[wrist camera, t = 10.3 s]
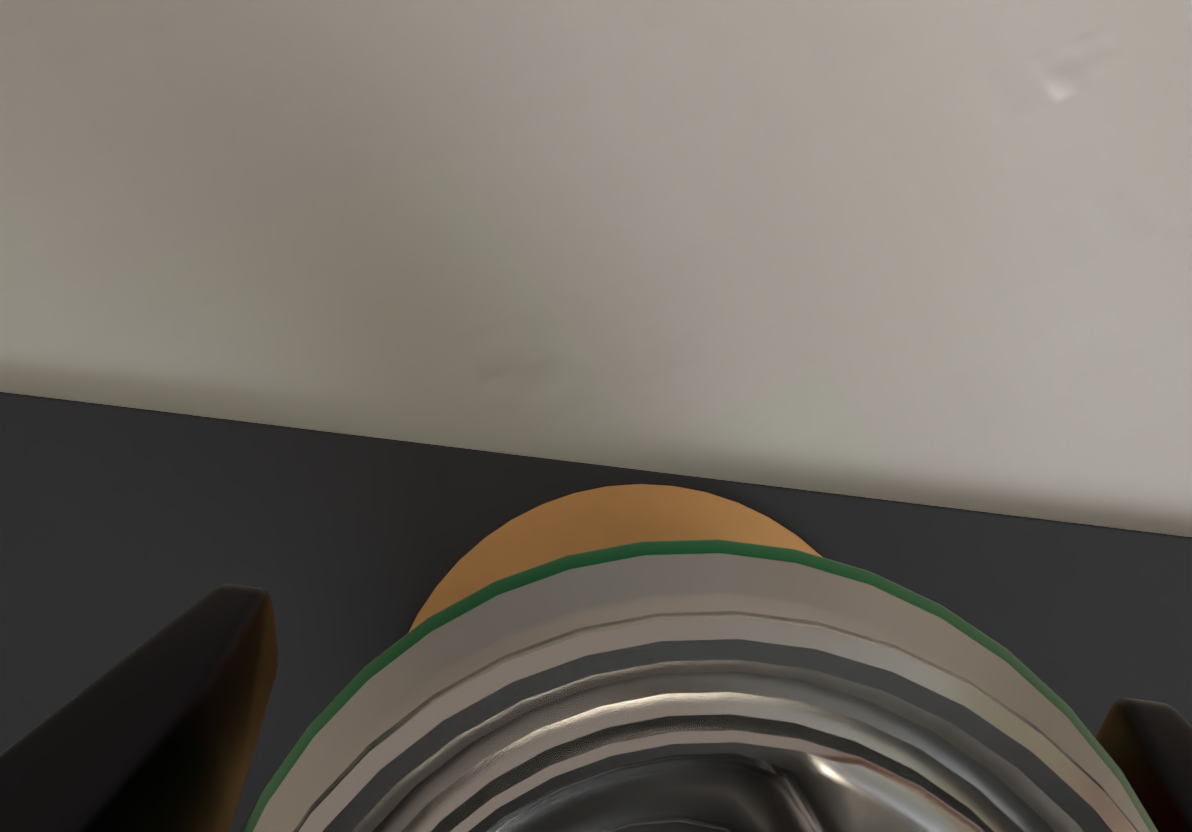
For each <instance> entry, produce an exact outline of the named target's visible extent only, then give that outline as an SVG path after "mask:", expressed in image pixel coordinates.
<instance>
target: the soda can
mask: <svg viewBox="0 0 1192 832" xmlns="http://www.w3.org/2000/svg"><path fill="white" fill-rule="evenodd" d="M242 832H1158V830H1157V828H1156V827H1155V825H1154V823H1153V822H1152V820H1151V818H1150V817H1149V815H1148V813H1147V812H1146V810H1145V808H1144V807H1143V805H1142V803H1141V802H1140V800H1139V798H1138V797H1137V795H1136V793H1135V792H1134V790H1133V788H1132V787H1131V785H1130V783H1129V782H1128V780H1127V778H1126V777H1125V775H1124V773H1123V772H1122V770H1121V769H1120V767H1119V766H1118V765H1117V764H1116V763H1115V761H1114V760H1113V759H1112V758H1111V756H1110V755H1109V754H1108V753H1107V752H1106V750H1105V749H1104V748H1103V747H1102V745H1101V744H1100V743H1099V742H1098V741H1097V739H1096V738H1095V737H1094V736H1093V734H1092V733H1091V732H1090V731H1089V729H1088V728H1087V727H1086V726H1085V725H1084V723H1083V722H1082V721H1081V720H1080V718H1079V717H1078V716H1077V715H1076V714H1075V712H1074V711H1073V710H1072V709H1071V707H1070V706H1069V705H1068V704H1067V703H1066V702H1065V701H1064V700H1063V699H1061V698H1060V697H1059V696H1058V695H1057V694H1056V693H1055V692H1054V691H1053V690H1052V689H1051V688H1049V687H1048V686H1047V685H1046V684H1045V683H1044V682H1043V681H1042V680H1041V679H1040V678H1038V677H1037V676H1036V675H1035V674H1034V673H1033V672H1032V671H1031V670H1030V669H1029V668H1027V667H1026V666H1025V665H1024V664H1023V663H1022V662H1021V661H1020V660H1019V659H1018V658H1016V657H1015V656H1014V655H1013V654H1012V653H1011V652H1010V651H1009V650H1008V649H1006V648H1005V647H1003V646H1002V645H1000V644H999V643H997V642H996V641H994V640H993V639H991V638H990V637H988V636H987V635H985V634H984V633H982V632H981V631H979V630H978V629H976V628H975V627H973V626H972V625H970V624H969V623H967V622H966V621H964V620H963V619H961V618H960V617H958V616H957V615H956V614H954V613H953V612H951V611H950V610H948V609H947V608H945V607H944V606H942V605H940V604H938V603H936V602H934V601H932V600H930V599H928V598H926V597H923V596H921V595H919V594H917V593H915V592H913V591H911V590H908V589H906V588H904V587H902V586H900V585H898V584H896V583H894V582H891V581H889V580H887V579H885V578H883V577H881V576H879V575H876V574H874V573H872V572H870V571H867V570H864V569H860V568H857V567H854V566H850V565H847V564H843V563H840V562H837V561H833V560H830V559H826V558H823V557H820V556H816V555H813V554H809V553H806V552H803V551H799V550H796V549H790V548H782V547H774V546H767V545H759V544H751V543H744V542H736V541H728V540H720V539H708V540H672V541H641V542H636V543H631V544H625V545H620V546H615V547H609V548H604V549H599V550H593V551H588V552H583V553H577V554H572V555H567V556H564V557H561V558H559V559H556V560H553V561H550V562H547V563H545V564H542V565H539V566H536V567H533V568H531V569H528V570H525V571H522V572H519V573H517V574H514V575H511V576H508V577H505V578H503V579H500V580H497V581H494V582H493V583H491V584H489V585H487V586H485V587H484V588H482V589H480V590H478V591H476V592H474V593H473V594H471V595H469V596H467V597H465V598H463V599H462V600H460V601H458V602H456V603H454V604H452V605H451V606H449V607H447V608H445V609H443V610H441V611H440V612H438V613H436V614H434V615H432V616H430V617H429V618H427V619H426V620H424V621H423V622H422V623H420V624H419V625H418V626H416V627H415V628H414V629H413V630H411V631H410V632H409V633H407V634H406V635H405V636H403V637H402V638H401V639H400V640H398V641H397V642H396V643H394V644H393V645H392V646H390V647H389V648H388V649H386V650H385V651H384V652H383V653H381V654H380V655H379V656H377V657H376V658H375V659H373V660H372V661H371V662H370V663H368V664H367V665H366V666H364V667H363V668H362V670H361V671H360V672H359V673H358V674H357V675H356V676H355V677H354V678H353V679H352V680H351V681H350V682H349V683H348V684H347V685H346V686H345V687H344V688H343V689H342V690H341V691H340V693H339V694H338V695H337V696H336V697H335V698H334V699H333V700H332V701H331V702H330V703H329V704H328V705H327V706H326V707H325V708H324V709H323V710H322V711H321V712H320V713H319V714H318V716H317V717H316V718H315V719H314V720H313V721H312V722H311V723H310V724H309V725H308V726H307V728H306V729H305V731H304V732H303V734H302V735H301V736H300V738H299V739H298V741H297V742H296V743H295V745H294V746H293V748H292V749H291V751H290V752H289V753H288V755H287V756H286V758H285V759H284V761H283V762H282V763H281V765H280V766H279V768H278V769H277V770H276V772H275V773H274V775H273V776H272V778H271V779H270V780H269V782H268V783H267V785H266V786H265V787H264V789H263V790H262V792H261V794H260V796H259V798H258V800H257V802H256V804H255V806H254V808H253V810H252V812H251V814H250V816H249V818H248V820H247V822H246V824H245V826H244V828H243V830H242Z"/></svg>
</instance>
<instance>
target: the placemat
mask: <svg viewBox="0 0 1192 832" xmlns="http://www.w3.org/2000/svg"><path fill="white" fill-rule="evenodd" d="M708 539H720V540H728V541H736V542H744V543H751V544H759V545H767V546H774V547H782V548H790V549H796V550H799V551H803V552H806V553H809V554H813V555H816V556H820V557H823V558H826V559H830V560H833V561H837V562H840V563H843V564H847V565H850V566H854V567H857V568H860V569H864V570H867V571H870V572H872V573H874V574H876V575H879V576H881V577H883V578H885V579H887V580H889V581H891V582H894V583H896V584H898V585H900V586H902V587H904V588H906V589H908V590H911V591H913V592H915V593H917V594H919V595H921V596H923V597H926V598H928V599H930V600H932V601H934V602H936V603H938V604H940V605H942V606H944V607H945V608H947V609H948V610H950V611H951V612H953V613H954V614H956V615H957V616H958V617H960V618H961V619H963V620H964V621H966V622H967V623H969V624H970V625H972V626H973V627H975V628H976V629H978V630H979V631H981V632H982V633H984V634H985V635H987V636H988V637H990V638H991V639H993V640H994V641H996V642H997V643H999V644H1000V645H1002V646H1003V647H1005V648H1006V649H1008V650H1009V651H1010V652H1011V653H1012V654H1013V655H1014V656H1015V657H1016V658H1018V659H1019V660H1020V661H1021V662H1022V663H1023V664H1024V665H1025V666H1026V667H1027V668H1029V669H1030V670H1031V671H1032V672H1033V673H1034V674H1035V675H1036V676H1037V677H1038V678H1040V679H1041V680H1042V681H1043V682H1044V683H1045V684H1046V685H1047V686H1048V687H1049V688H1051V689H1052V690H1053V691H1054V692H1055V693H1056V694H1057V695H1058V696H1059V697H1060V698H1061V699H1063V700H1064V701H1065V702H1066V703H1067V704H1068V705H1069V706H1070V707H1071V709H1072V710H1073V711H1074V712H1075V714H1076V715H1077V716H1078V717H1079V718H1080V720H1081V721H1082V722H1083V723H1084V725H1085V726H1086V727H1087V728H1088V729H1089V731H1090V732H1091V733H1092V734H1093V736H1094V737H1096V735H1097V733H1098V731H1099V729H1100V727H1101V725H1102V723H1103V722H1104V720H1105V718H1106V716H1107V714H1108V712H1109V710H1110V708H1111V707H1112V705H1113V704H1114V703H1115V702H1116V701H1118V700H1119V699H1121V698H1133V699H1141V700H1149V701H1156V702H1163V703H1166V704H1168V705H1170V706H1171V707H1173V708H1174V709H1176V710H1177V711H1178V712H1179V713H1180V714H1181V715H1182V716H1183V717H1184V718H1185V719H1186V720H1187V721H1188V722H1189V723H1190V724H1191V725H1192V538H1191V537H1183V536H1175V535H1167V534H1159V533H1150V532H1142V531H1134V530H1126V529H1118V528H1109V527H1101V526H1093V525H1085V524H1077V523H1069V522H1060V521H1052V520H1044V519H1036V518H1028V517H1019V516H1011V515H1003V514H995V513H987V512H978V511H970V510H962V509H954V508H946V507H938V506H929V505H921V504H913V503H905V502H897V501H888V500H880V499H872V498H864V497H856V496H848V495H839V494H831V493H823V492H815V491H807V490H798V489H790V488H782V487H774V486H766V485H757V484H749V483H741V482H733V481H725V480H717V479H708V478H700V477H692V476H684V475H676V474H667V473H659V472H651V471H643V470H635V469H627V468H618V467H610V466H602V465H594V464H586V463H577V462H569V461H561V460H553V459H545V458H536V457H528V456H520V455H512V454H504V453H496V452H487V451H479V450H471V449H463V448H455V447H446V446H438V445H430V444H422V443H414V442H406V441H397V440H389V439H381V438H373V437H365V436H356V435H348V434H340V433H332V432H324V431H315V430H307V429H299V428H291V427H283V426H275V425H266V424H258V423H250V422H242V421H234V420H225V419H217V418H209V417H201V416H193V415H185V414H176V413H168V412H160V411H152V410H144V409H135V408H127V407H119V406H111V405H103V404H94V403H86V402H78V401H70V400H62V399H54V398H45V397H37V396H29V395H21V394H13V393H4V392H0V754H1V753H2V752H3V751H5V750H6V749H7V748H9V747H10V746H11V745H12V744H14V743H15V742H16V741H18V740H19V739H20V738H21V737H23V736H24V735H25V734H27V733H28V732H29V731H31V730H32V729H33V728H34V727H36V726H37V725H38V724H40V723H41V722H42V721H43V720H45V719H46V718H47V717H49V716H50V715H51V714H53V713H54V712H55V711H56V710H58V709H59V708H60V707H62V706H63V705H64V704H65V703H67V702H68V701H69V700H71V699H72V698H73V697H75V696H76V695H77V694H78V693H80V692H81V691H82V690H84V689H85V688H86V687H87V686H89V685H90V684H91V683H93V682H94V681H95V680H97V679H98V678H99V677H100V676H102V675H103V674H104V673H106V672H107V671H108V670H109V669H111V668H112V667H113V666H115V665H116V664H117V663H119V662H120V661H121V660H122V659H124V658H125V657H126V656H128V655H129V654H130V653H131V652H133V651H134V650H135V649H137V648H138V647H139V646H141V645H142V644H143V643H144V642H146V641H147V640H148V639H150V638H151V637H152V636H153V635H155V634H156V633H157V632H159V631H160V630H161V629H163V628H164V627H165V626H166V625H168V624H169V623H170V622H172V621H173V620H174V619H175V618H177V617H178V616H179V615H181V614H182V613H183V612H185V611H186V610H187V609H188V608H190V607H191V606H192V605H194V604H195V603H196V602H197V601H199V600H200V599H201V598H203V597H204V596H205V595H207V594H208V593H209V592H210V591H212V590H213V589H214V588H216V587H218V586H220V585H222V584H237V585H245V586H253V587H261V588H263V589H266V590H267V591H268V592H269V594H270V596H271V599H272V605H273V613H274V621H275V629H276V637H277V645H278V667H277V672H276V677H275V681H274V684H273V688H272V691H271V695H270V698H269V701H268V705H267V708H266V711H265V715H264V718H263V722H262V725H261V728H260V732H259V735H258V739H257V742H256V745H255V749H254V752H253V755H252V759H251V762H250V766H249V769H248V772H247V776H246V779H245V783H244V786H243V789H242V793H241V796H240V799H239V803H238V806H237V810H236V813H235V816H234V819H233V822H232V825H231V829H230V832H242V830H243V828H244V826H245V824H246V822H247V820H248V818H249V816H250V814H251V812H252V810H253V808H254V806H255V804H256V802H257V800H258V798H259V796H260V794H261V792H262V790H263V789H264V787H265V786H266V785H267V783H268V782H269V780H270V779H271V778H272V776H273V775H274V773H275V772H276V770H277V769H278V768H279V766H280V765H281V763H282V762H283V761H284V759H285V758H286V756H287V755H288V753H289V752H290V751H291V749H292V748H293V746H294V745H295V743H296V742H297V741H298V739H299V738H300V736H301V735H302V734H303V732H304V731H305V729H306V728H307V726H308V725H309V724H310V723H311V722H312V721H313V720H314V719H315V718H316V717H317V716H318V714H319V713H320V712H321V711H322V710H323V709H324V708H325V707H326V706H327V705H328V704H329V703H330V702H331V701H332V700H333V699H334V698H335V697H336V696H337V695H338V694H339V693H340V691H341V690H342V689H343V688H344V687H345V686H346V685H347V684H348V683H349V682H350V681H351V680H352V679H353V678H354V677H355V676H356V675H357V674H358V673H359V672H360V671H361V670H362V668H363V667H364V666H366V665H367V664H368V663H370V662H371V661H372V660H373V659H375V658H376V657H377V656H379V655H380V654H381V653H383V652H384V651H385V650H386V649H388V648H389V647H390V646H392V645H393V644H394V643H396V642H397V641H398V640H400V639H401V638H402V637H403V636H405V635H406V634H407V633H409V632H410V631H411V630H413V629H414V628H415V627H416V626H418V625H419V624H420V623H422V622H423V621H424V620H426V619H427V618H429V617H430V616H432V615H434V614H436V613H438V612H440V611H441V610H443V609H445V608H447V607H449V606H451V605H452V604H454V603H456V602H458V601H460V600H462V599H463V598H465V597H467V596H469V595H471V594H473V593H474V592H476V591H478V590H480V589H482V588H484V587H485V586H487V585H489V584H491V583H493V582H494V581H497V580H500V579H503V578H505V577H508V576H511V575H514V574H517V573H519V572H522V571H525V570H528V569H531V568H533V567H536V566H539V565H542V564H545V563H547V562H550V561H553V560H556V559H559V558H561V557H564V556H567V555H572V554H577V553H583V552H588V551H593V550H599V549H604V548H609V547H615V546H620V545H625V544H631V543H636V542H641V541H672V540H708Z"/></svg>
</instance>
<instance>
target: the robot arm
mask: <svg viewBox="0 0 1192 832" xmlns="http://www.w3.org/2000/svg"><path fill="white" fill-rule="evenodd" d="M277 667H278V645H277V637H276V629H275V621H274V613H273V605H272V599H271V596H270V594H269V592H268V591H267V590H266V589H263V588H261V587H253V586H245V585H237V584H222V585H220V586H218V587H216V588H214V589H213V590H212V591H210V592H209V593H208V594H207V595H205V596H204V597H203V598H201V599H200V600H199V601H197V602H196V603H195V604H194V605H192V606H191V607H190V608H188V609H187V610H186V611H185V612H183V613H182V614H181V615H179V616H178V617H177V618H175V619H174V620H173V621H172V622H170V623H169V624H168V625H166V626H165V627H164V628H163V629H161V630H160V631H159V632H157V633H156V634H155V635H153V636H152V637H151V638H150V639H148V640H147V641H146V642H144V643H143V644H142V645H141V646H139V647H138V648H137V649H135V650H134V651H133V652H131V653H130V654H129V655H128V656H126V657H125V658H124V659H122V660H121V661H120V662H119V663H117V664H116V665H115V666H113V667H112V668H111V669H109V670H108V671H107V672H106V673H104V674H103V675H102V676H100V677H99V678H98V679H97V680H95V681H94V682H93V683H91V684H90V685H89V686H87V687H86V688H85V689H84V690H82V691H81V692H80V693H78V694H77V695H76V696H75V697H73V698H72V699H71V700H69V701H68V702H67V703H65V704H64V705H63V706H62V707H60V708H59V709H58V710H56V711H55V712H54V713H53V714H51V715H50V716H49V717H47V718H46V719H45V720H43V721H42V722H41V723H40V724H38V725H37V726H36V727H34V728H33V729H32V730H31V731H29V732H28V733H27V734H25V735H24V736H23V737H21V738H20V739H19V740H18V741H16V742H15V743H14V744H12V745H11V746H10V747H9V748H7V749H6V750H5V751H3V752H2V753H1V754H0V832H230V829H231V825H232V822H233V819H234V816H235V813H236V810H237V806H238V803H239V799H240V796H241V793H242V789H243V786H244V783H245V779H246V776H247V772H248V769H249V766H250V762H251V759H252V755H253V752H254V749H255V745H256V742H257V739H258V735H259V732H260V728H261V725H262V722H263V718H264V715H265V711H266V708H267V705H268V701H269V698H270V695H271V691H272V688H273V684H274V681H275V677H276V672H277ZM1095 738H1096V739H1097V741H1098V742H1099V743H1100V744H1101V745H1102V747H1103V748H1104V749H1105V750H1106V752H1107V753H1108V754H1109V755H1110V756H1111V758H1112V759H1113V760H1114V761H1115V763H1116V764H1117V765H1118V766H1119V767H1120V769H1121V770H1122V772H1123V773H1124V775H1125V777H1126V778H1127V780H1128V782H1129V783H1130V785H1131V787H1132V788H1133V790H1134V792H1135V793H1136V795H1137V797H1138V798H1139V800H1140V802H1141V803H1142V805H1143V807H1144V808H1145V810H1146V812H1147V813H1148V815H1149V817H1150V818H1151V820H1152V822H1153V823H1154V825H1155V827H1156V828H1157V830H1158V832H1192V725H1191V724H1190V723H1189V722H1188V721H1187V720H1186V719H1185V718H1184V717H1183V716H1182V715H1181V714H1180V713H1179V712H1178V711H1177V710H1176V709H1174V708H1173V707H1171V706H1170V705H1168V704H1166V703H1163V702H1156V701H1149V700H1141V699H1133V698H1121V699H1119V700H1118V701H1116V702H1115V703H1114V704H1113V705H1112V707H1111V708H1110V710H1109V712H1108V714H1107V716H1106V718H1105V720H1104V722H1103V723H1102V725H1101V727H1100V729H1099V731H1098V733H1097V735H1096V737H1095Z"/></svg>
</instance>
